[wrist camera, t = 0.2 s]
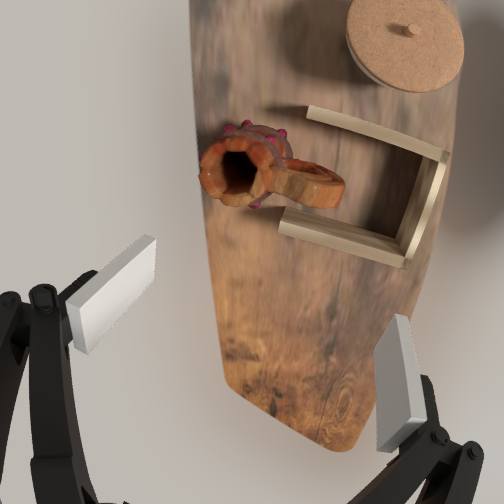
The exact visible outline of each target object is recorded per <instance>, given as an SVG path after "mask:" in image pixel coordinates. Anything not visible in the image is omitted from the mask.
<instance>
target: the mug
mask: <svg viewBox="0 0 504 504" xmlns="http://www.w3.org/2000/svg"><path fill="white" fill-rule="evenodd" d="M286 137H287V132H286V130H284V129H279V130H275V129H273V128H270V127H267V126H262V125H253V124H252V123H251V122H250V121H249V120H245V121H244V122H242V124H241V128H240V129H238V130H237V129H236V127H234V126H233V125H231V124H228V125H225V127H224V129H223V133H222V134H221V135H219V136H218V137H216V138H215V139H214V140H213V141H212V142H211V143H210V144H209V145H208V147H207V148H206V150H205V152H203V153H202V154H201V155H199V160H200V167H201V168H202V171H201V173H200V174H199V175H198V177H199V180H200V183H201V185H202V187H203V189H204V190H205V191H206V193H207V194H208V195H209V196H210V197H213V198H215V199H219V200H221V202H222V203H223V204H224V205H227V206H232V207H241V206H245V205H248V206H249V207H251V208H253V209H257V208H258V207H259V206H260V204H261V201H263V200H264V199H266V198H267V197H268V196H270V195H271V194H272V193H277V194H279V195H283V196H285V197H287V198H289V199H291V200H293V201H295V202H297V203H300V204H303V205H305V206H308V207H312V208H319V209H326V208H332V207H335V206H337V205H339V204H340V201H341V198H342V195H343V192H344V189H345V182H344V180H343V179H342V178H341V177H340V176H339V175H337V174H336V173H334V172H332V171H330V170H328V169H326V168H324V167H322V166H320V165H317V164H316V163H312V162H306V161H301V160H299V159H293V153H292V149H291V147H290V144H289V142H288V141H287V139H286Z"/></svg>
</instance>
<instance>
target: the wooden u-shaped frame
mask: <svg viewBox="0 0 504 504" xmlns="http://www.w3.org/2000/svg"><path fill="white" fill-rule="evenodd" d="M306 118H308V119H312V120H316V121H320V122H323V123H327V124H330V125H334V126H337V127H341V128H344V129H348V130H351V131H354V132H357V133H360V134H364V135H367V136H370V137H373V138H376V139H379V140H382V141H385V142H388V143H390V144H393V145H396V146H399V147H402V148H404V149H407V150H410V151H412V152H415V153H418V154H420V155H423V159H422V162H421V165H420V169H419V172H418V175H417V178H416V181H415V184H414V187H413V190H412V193H411V196H410V199H409V202H408V205H407V208H406V211H405V214H404V216H403V219H402V222H401V224H400V227H399V230H398V232H397V235H396V238H391V237H388V236H385V235H382V234H379V233H376V232H372V231H369V230H366V229H363V228H359V227H356V226H353V225H349V224H346V223H343V222H339V221H336V220H332V219H329V218H326V217H322V216H319V215H315V214H312V213H308V212H305V211H301V210H297V209H294V208H290V207H286V208H285V210H284V213H283V215H282V218H281V221H280V224H279V228H278V232H277V233H280V234H284V235H287V236H291V237H295V238H298V239H302V240H305V241H309V242H312V243H316V244H319V245H323V246H326V247H330V248H333V249H337V250H340V251H344V252H347V253H351V254H354V255H357V256H361V257H364V258H368V259H371V260H374V261H378V262H381V263H384V264H388V265H391V266H394V267H398V268H401V269H404V270H407V269H408V267H409V265H410V263H411V260H412V258H413V256H414V253H415V251H416V248H417V246H418V244H419V241H420V239H421V236H422V234H423V231H424V228H425V226H426V223H427V221H428V218H429V215H430V213H431V210H432V207H433V204H434V202H435V199H436V196H437V193H438V190H439V187H440V184H441V181H442V178H443V175H444V172H445V168H446V165H447V162H448V159H449V155H450V153H449V152H447V151H445V150H442V149H440V148H438V147H435V146H433V145H430V144H428V143H426V142H423V141H421V140H418V139H415V138H413V137H410V136H408V135H405V134H402V133H399V132H397V131H394V130H391V129H388V128H385V127H383V126H380V125H377V124H374V123H371V122H368V121H364V120H361V119H358V118H355V117H352V116H348V115H345V114H342V113H338V112H335V111H331V110H327V109H324V108H320V107H316V106H312V105H309V108H308V112H307V116H306Z"/></svg>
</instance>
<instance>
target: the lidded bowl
mask: <svg viewBox="0 0 504 504" xmlns="http://www.w3.org/2000/svg"><path fill="white" fill-rule="evenodd" d="M346 40H347V44H348V47H349V51H350V53H351V55H352V57H353V59H354V61H355V62H356V64H357V65H358V66H359V68H360V69H361V70H362V71H363V72H364V73H365V74H366V75H367V76H368V77H369V78H371V79H372V80H373V81H375V82H376V83H378V84H380V85H382V86H384V87H387V88H389V89H392V90H396V91H400V92H413V93H423V92H429V91H434V90H437V89H439V88H442V87H443V86H445V85H446V84H448V83H449V82H450V81H451V80H452V79H453V78H454V77H455V76H456V75H457V73H458V72H459V70H460V67H461V65H462V61H463V57H464V43H463V37H462V33H461V30H460V28H459V25H458V23H457V21H456V19H455V18H454V16H453V14H452V13H451V12H450V10H449V9H448V8H447V7H446V6H445V5H444V4H443V3H442V2H441V1H440V0H352V2H351V4H350V6H349V9H348V13H347V16H346Z"/></svg>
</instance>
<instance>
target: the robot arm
mask: <svg viewBox="0 0 504 504" xmlns="http://www.w3.org/2000/svg"><path fill="white" fill-rule="evenodd" d="M155 252H156V238H154V237H151V236H147V235H143V236H142V237H141V238H139V239H138V240H137V241H136V242H134V243H133V244H132V245H131V246H130V247H128V248H127V249H126V250H125V251H123V252H122V253H121V254H120V255H119V256H117V257H116V258H115V259H114V260H113V261H111V262H110V263H109V264H108V265H107V266H105V267H104V268H103V269H102V270H101V271H100V272H97V271H95V270H91V271H88V272H86V273H84V274H82V275H81V276H80V277H79V278H77V280H75V281H74V282H73V283H72V284H71V285H69V286H68V287H67V288H66V289H65V290H63V291H62V292H61V293H60V294H59V295H57V290H56V288H55V287H54V286H52V285H50V284H39V285H37V286H35V287H33V288H32V289H31V290H30V292H29V299H30V302H31V304H29V303H24V302H22V301H21V297H20V295H19V294H18V293H17V292H13V291H8V292H4V293H2V294H1V295H0V484H1V479H2V473H3V466H4V459H5V452H6V446H7V440H8V435H9V430H10V424H11V420H12V415H13V411H14V406H15V402H16V398H17V394H18V390H19V386H20V382H21V379H22V375H23V372H24V368H25V365H26V361H27V358H28V355H29V400H30V420H31V433H32V443H33V452H34V456H33V458H32V459H31V462H30V466H31V475H32V481H33V487H34V492H35V497H36V502H37V504H113V503H98V500H97V497H96V494H95V492H94V489H93V486H92V484H91V481H90V478H89V474H88V470H87V466H86V461H85V457H84V452H83V448H82V443H81V438H80V433H79V427H78V421H77V415H76V408H75V401H74V394H73V388H72V387H73V386H72V377H71V368H70V357H69V347H68V344H69V343H70V342H71V341H72V339H73V343H74V347H75V348H76V349H78V350H80V351H81V352H83V353H85V354H87V355H88V354H89V353H90V352H91V351H92V349H93V348H94V347H95V346H96V345H97V344H98V342H99V341H100V340H101V339H102V338H103V336H104V335H105V334H106V333H107V332H108V331H109V329H110V328H111V327H112V326H113V325H114V324H115V323H116V322H117V321H118V319H119V318H120V317H121V316H122V315H123V314H124V313H125V311H126V310H127V309H128V308H129V307H130V306H131V305H132V304H133V303H134V301H135V300H136V299H137V298H138V297H139V296H140V295H141V294H142V293H143V292H144V290H145V289H146V288H147V287H148V286H149V285H150V284H151V283H152V281H154V267H155ZM373 351H374V366H375V385H376V415H377V451H380V452H387V453H392V452H393V451H394V450H396V449H397V448H398V447H399V455H397V456H396V457H395V458H394V459H393V460H391V461H390V462H389V463H388V464H387V467H386V468H385V469H384V470H383V471H382V472H381V473H380V474H379V475H378V476H377V477H376V478H375V479H374V480H372V481H371V482H370V483H369V484H368V485H367V486H366V487H365V488H364V489H363V490H362V491H361V492H360V493H359V494H357V495H356V496H355V497H354V498H353V499H352V500H351V501H349V502H348V503H347V504H405V503H406V502H407V500H408V499H409V498H410V497H411V496H412V495H413V493H414V492H415V491H416V490H417V488H418V487H419V486H420V485H421V483H422V482H423V481H424V480H425V479H426V481H425V483H424V486H423V488H422V490H421V493H420V494H419V497H418V499H417V501H416V503H415V504H472V501H473V498H474V494H475V491H476V487H477V484H478V480H479V476H480V472H481V468H482V464H483V459H484V453H483V449H482V448H481V446H480V445H479V444H478V443H477V442H474V441H468V442H467V443H465V444H464V445H463V446H462V445H459V444H457V443H455V442H453V441H451V440H450V437H449V434H448V432H447V431H446V430H445V429H444V428H443V427H441V426H440V423H439V417H438V411H437V406H436V402H435V395H434V390H433V385H432V383H431V381H430V379H429V378H428V376H425V375H421V374H420V372H419V367H418V362H417V357H416V352H415V347H414V343H413V339H412V334H411V330H410V325H409V321H408V317H406V316H403V315H400V314H396V313H395V314H394V316H393V318H392V320H391V321H390V323H389V325H388V327H387V328H386V330H385V332H384V333H383V335H382V337H381V339H380V340H379V342H378V343H377V345H376V347H375V348H374V350H373ZM0 504H2V502H1V500H0ZM123 504H129V503H127V502H125V501H124V503H123Z"/></svg>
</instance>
